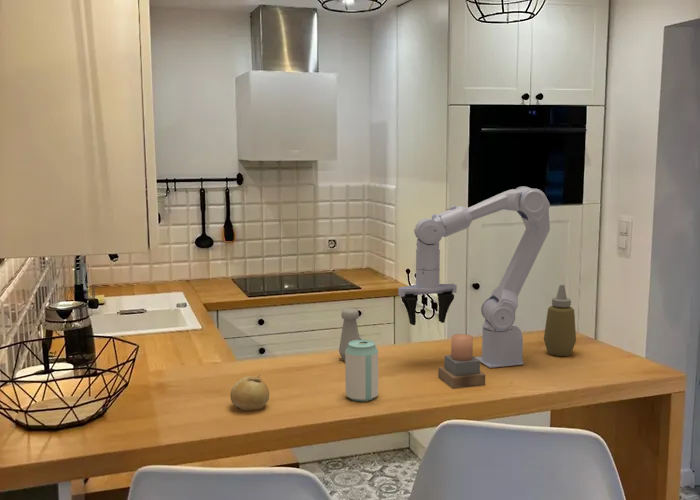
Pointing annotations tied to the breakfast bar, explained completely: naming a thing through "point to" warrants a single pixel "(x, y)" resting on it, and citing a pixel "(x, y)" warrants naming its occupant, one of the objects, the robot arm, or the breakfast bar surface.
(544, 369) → the breakfast bar surface
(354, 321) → the salt shaker
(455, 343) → the salmon cylinder
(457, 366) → the charcoal block
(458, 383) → the walnut slab
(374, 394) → the can
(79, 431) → the breakfast bar surface
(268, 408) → the breakfast bar surface
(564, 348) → the squeeze bottle
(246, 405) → the onion
